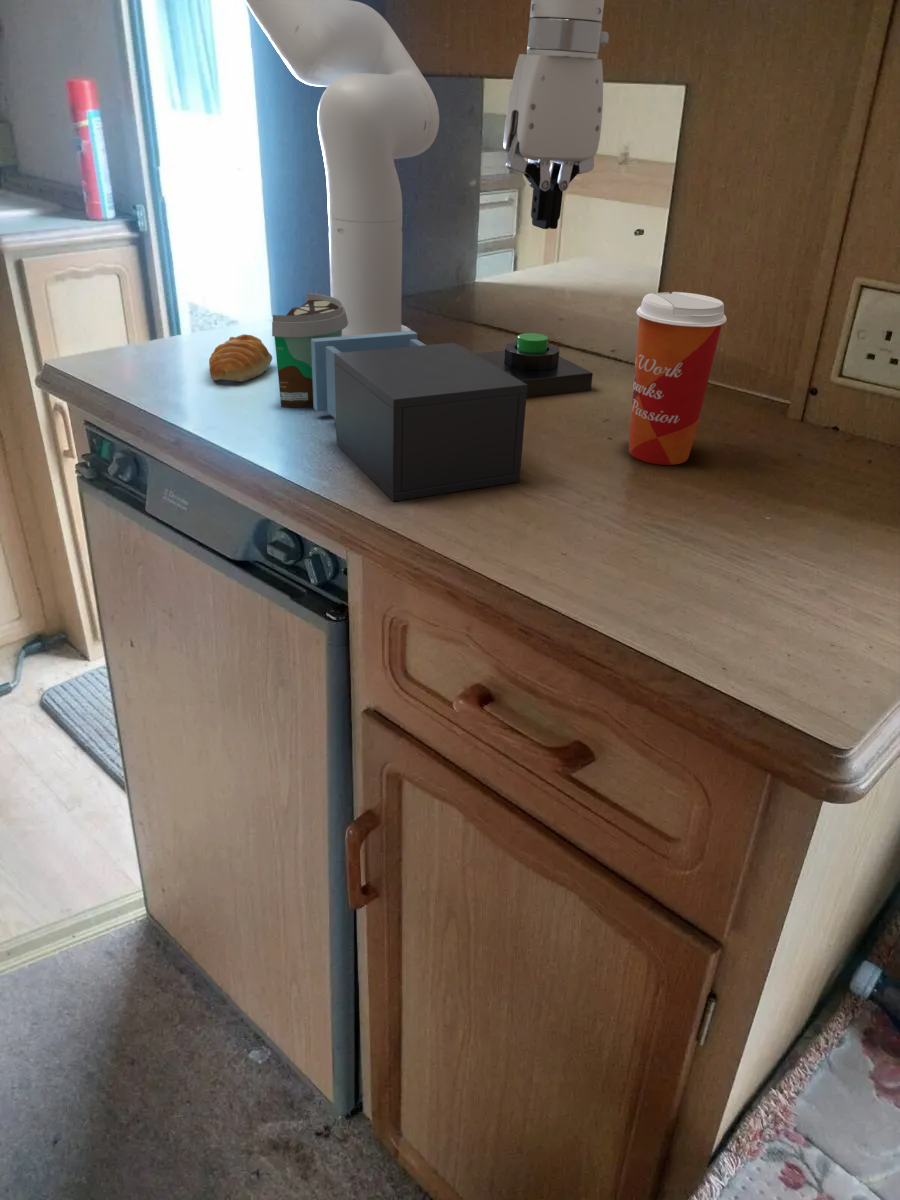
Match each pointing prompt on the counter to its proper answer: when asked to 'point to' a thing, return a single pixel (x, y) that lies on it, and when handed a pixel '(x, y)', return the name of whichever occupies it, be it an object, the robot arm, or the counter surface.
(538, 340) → the button
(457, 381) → the dark grey box
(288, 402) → the food container
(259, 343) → the pastry
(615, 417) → the counter surface
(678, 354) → the coffee cup
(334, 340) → the blue drawer
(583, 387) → the block
